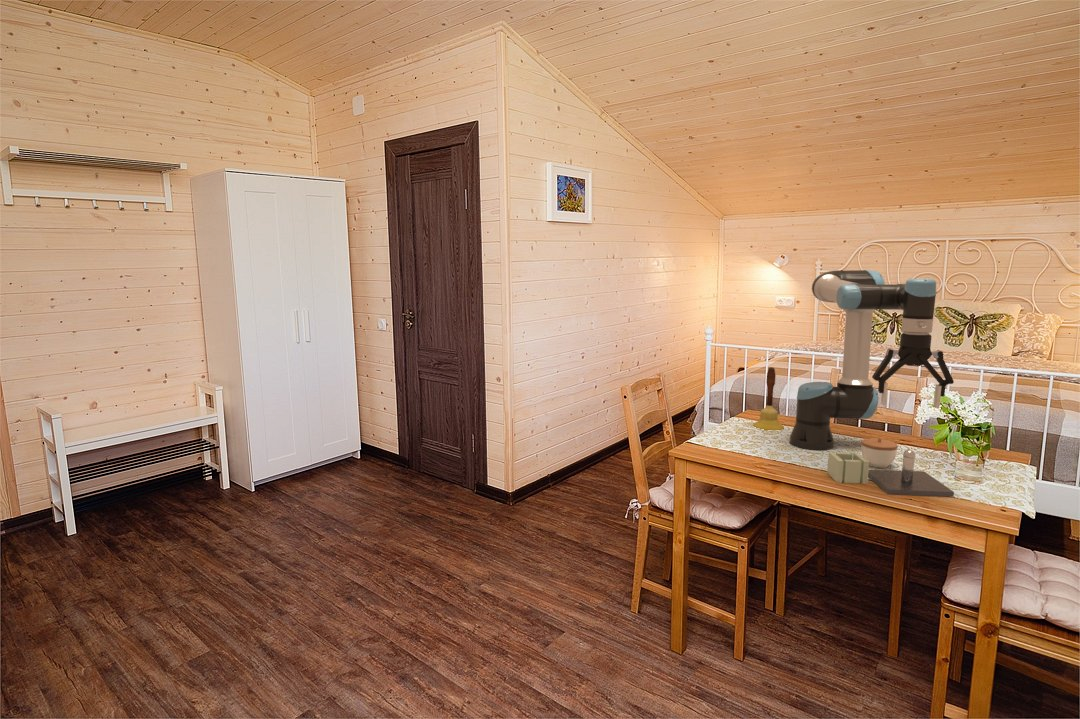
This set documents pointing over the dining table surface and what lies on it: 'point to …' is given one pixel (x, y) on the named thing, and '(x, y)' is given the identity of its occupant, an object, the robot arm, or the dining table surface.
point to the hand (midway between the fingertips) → (909, 405)
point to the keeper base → (909, 487)
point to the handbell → (769, 407)
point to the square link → (848, 467)
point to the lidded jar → (879, 451)
